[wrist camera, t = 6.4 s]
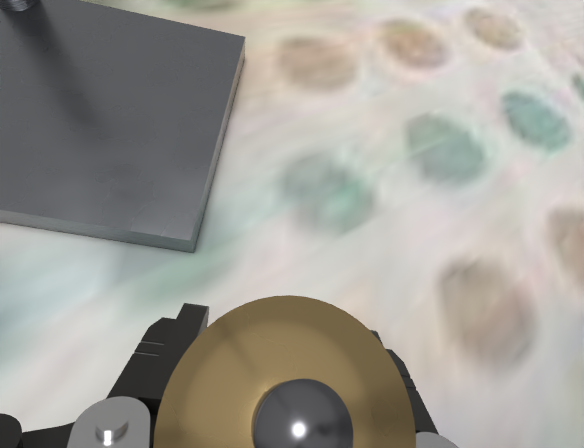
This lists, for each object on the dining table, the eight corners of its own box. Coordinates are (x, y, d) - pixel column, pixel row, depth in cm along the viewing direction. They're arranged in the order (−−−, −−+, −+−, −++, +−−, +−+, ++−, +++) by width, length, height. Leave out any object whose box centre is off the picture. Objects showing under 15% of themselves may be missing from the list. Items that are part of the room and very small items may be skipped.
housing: (315, 354, 15) (441, 298, 6) (306, 478, 13) (476, 679, 4) (213, 340, 15) (183, 258, 6) (187, 466, 13) (74, 660, 4)
